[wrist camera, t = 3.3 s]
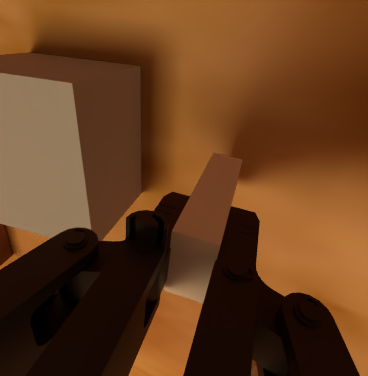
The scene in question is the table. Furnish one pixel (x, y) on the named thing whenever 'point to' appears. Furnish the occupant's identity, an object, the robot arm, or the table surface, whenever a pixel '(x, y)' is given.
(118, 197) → the block
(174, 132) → the table surface
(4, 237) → the brown wooden bar
